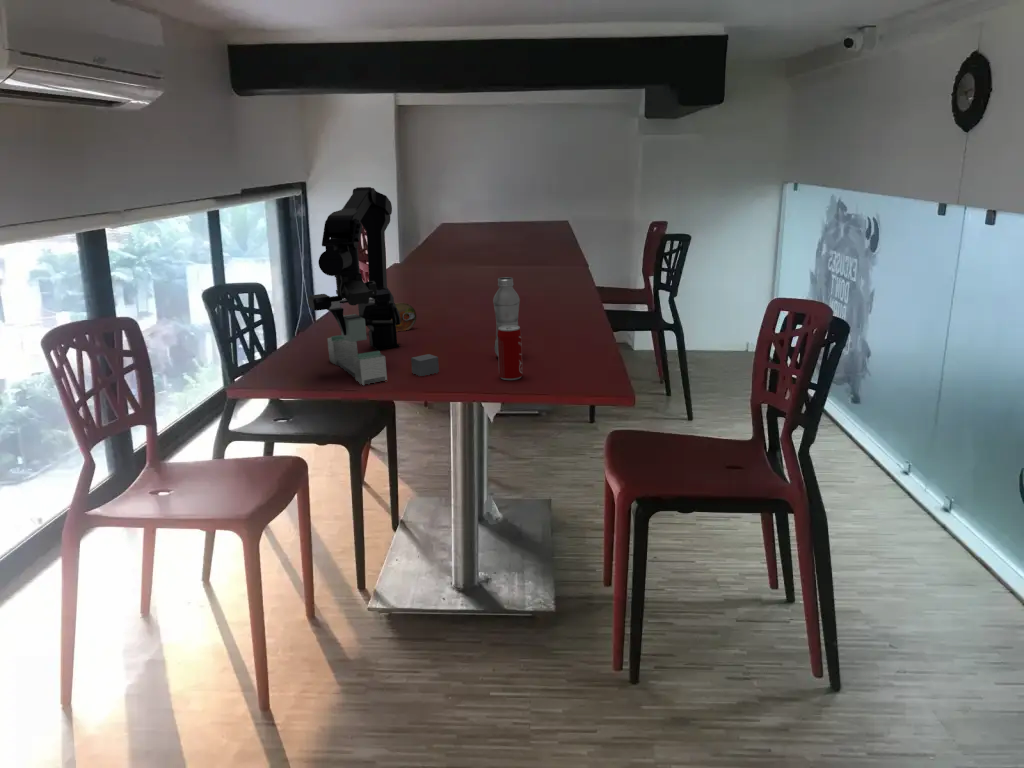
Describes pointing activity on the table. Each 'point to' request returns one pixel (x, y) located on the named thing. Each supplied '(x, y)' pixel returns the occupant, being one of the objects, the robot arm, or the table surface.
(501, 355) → the soda can
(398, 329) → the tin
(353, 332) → the block
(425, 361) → the block
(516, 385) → the table surface
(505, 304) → the plastic bottle
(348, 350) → the rail
